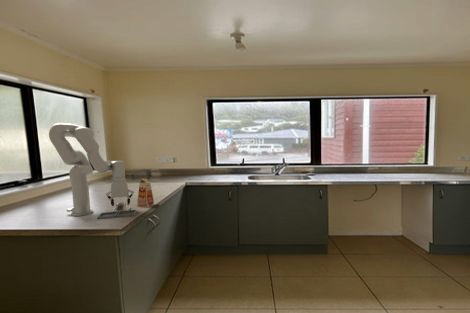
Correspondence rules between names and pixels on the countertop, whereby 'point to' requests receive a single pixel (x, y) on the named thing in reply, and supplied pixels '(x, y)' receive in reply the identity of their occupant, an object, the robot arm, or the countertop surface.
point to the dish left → (108, 215)
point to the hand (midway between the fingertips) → (120, 205)
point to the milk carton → (145, 194)
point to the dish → (121, 210)
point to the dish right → (127, 213)
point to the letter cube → (121, 206)
